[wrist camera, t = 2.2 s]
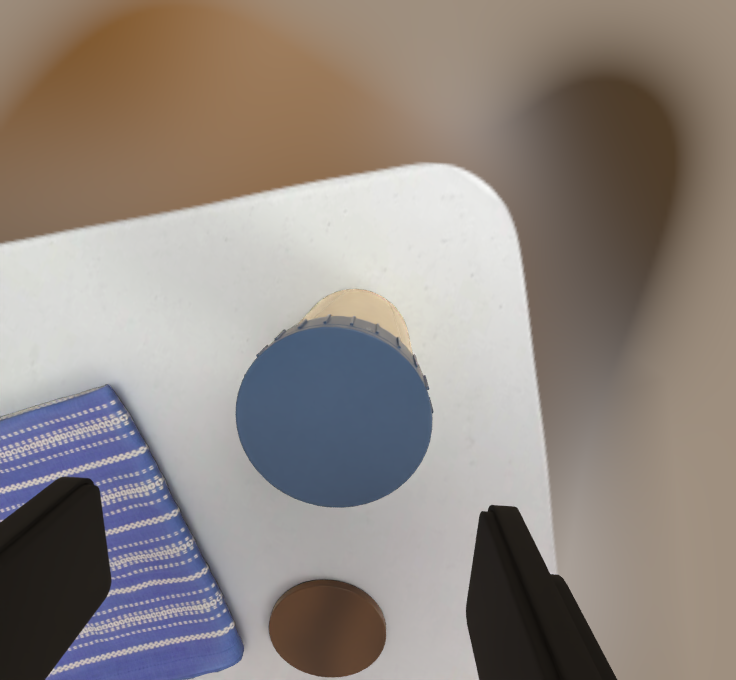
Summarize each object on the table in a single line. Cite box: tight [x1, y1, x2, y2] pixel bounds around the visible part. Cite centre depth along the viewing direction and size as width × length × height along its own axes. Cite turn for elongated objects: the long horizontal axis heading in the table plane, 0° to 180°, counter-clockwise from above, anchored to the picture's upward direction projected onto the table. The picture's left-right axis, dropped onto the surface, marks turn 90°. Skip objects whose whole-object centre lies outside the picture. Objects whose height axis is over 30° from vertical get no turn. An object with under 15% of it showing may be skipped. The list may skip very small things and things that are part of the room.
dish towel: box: [0, 384, 244, 680], centre depth 29 cm, size 17×24×3 cm
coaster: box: [269, 580, 386, 677], centre depth 32 cm, size 9×9×1 cm
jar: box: [298, 289, 413, 355], centre depth 21 cm, size 7×7×11 cm
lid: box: [236, 314, 433, 507], centre depth 16 cm, size 7×7×2 cm
